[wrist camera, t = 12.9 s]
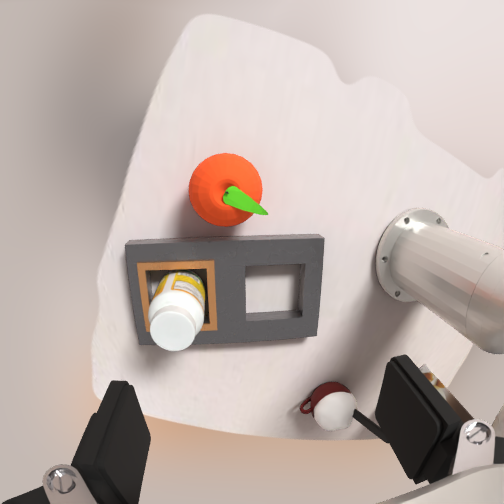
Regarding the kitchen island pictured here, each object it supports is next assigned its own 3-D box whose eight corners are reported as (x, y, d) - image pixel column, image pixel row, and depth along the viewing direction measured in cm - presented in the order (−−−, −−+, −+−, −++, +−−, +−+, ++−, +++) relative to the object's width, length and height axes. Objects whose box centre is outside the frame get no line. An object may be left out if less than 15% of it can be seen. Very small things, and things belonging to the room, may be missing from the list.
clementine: (277, 179, 33) (294, 183, 26) (245, 235, 34) (254, 253, 27) (211, 143, 31) (210, 136, 24) (179, 201, 32) (170, 210, 25)
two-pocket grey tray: (318, 234, 35) (325, 238, 33) (311, 328, 38) (317, 337, 36) (129, 240, 32) (124, 245, 30) (142, 336, 36) (139, 346, 33)
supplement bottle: (197, 261, 34) (192, 297, 25) (211, 304, 36) (212, 350, 26) (152, 274, 34) (133, 312, 25) (167, 315, 35) (156, 363, 26)
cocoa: (292, 402, 42) (308, 465, 30) (310, 370, 40) (332, 434, 29) (346, 408, 43) (370, 464, 32) (365, 379, 42) (396, 435, 30)
